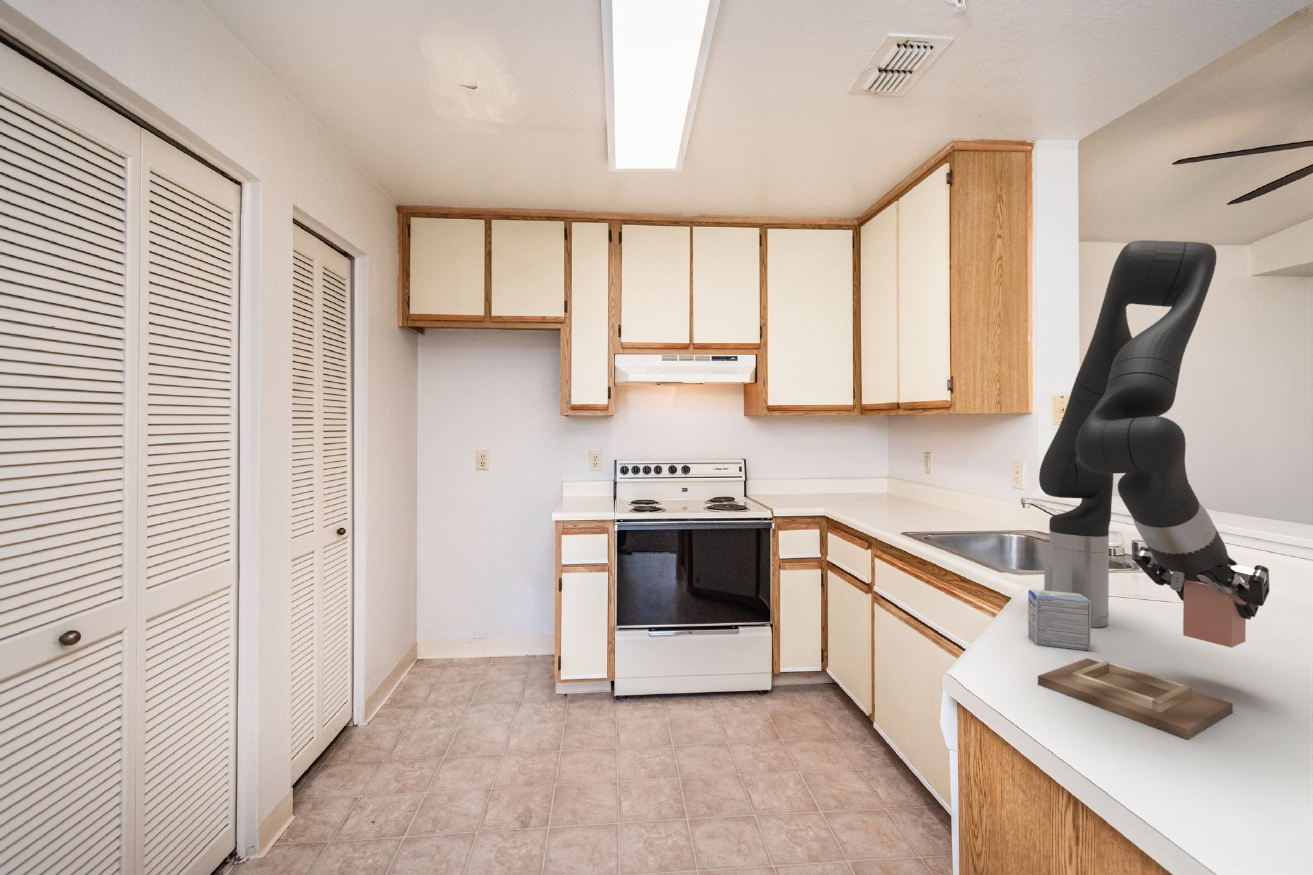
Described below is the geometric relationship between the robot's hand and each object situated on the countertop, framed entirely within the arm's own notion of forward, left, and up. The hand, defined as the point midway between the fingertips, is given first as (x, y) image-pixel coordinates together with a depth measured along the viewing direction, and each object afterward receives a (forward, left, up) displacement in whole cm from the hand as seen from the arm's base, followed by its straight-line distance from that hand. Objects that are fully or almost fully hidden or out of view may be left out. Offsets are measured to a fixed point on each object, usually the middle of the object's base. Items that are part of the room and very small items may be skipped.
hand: (1220, 607), depth 77 cm
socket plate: (-4, -17, -11) cm, 21 cm away
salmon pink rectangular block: (0, -2, -4) cm, 5 cm away
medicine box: (-19, -4, -11) cm, 22 cm away
